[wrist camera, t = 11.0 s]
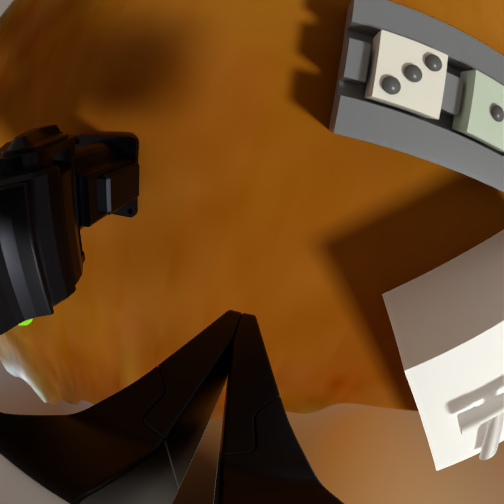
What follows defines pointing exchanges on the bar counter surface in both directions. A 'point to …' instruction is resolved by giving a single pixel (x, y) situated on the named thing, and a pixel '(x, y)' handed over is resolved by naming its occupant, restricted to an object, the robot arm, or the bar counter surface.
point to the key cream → (406, 75)
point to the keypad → (403, 122)
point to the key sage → (481, 109)
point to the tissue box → (455, 350)
